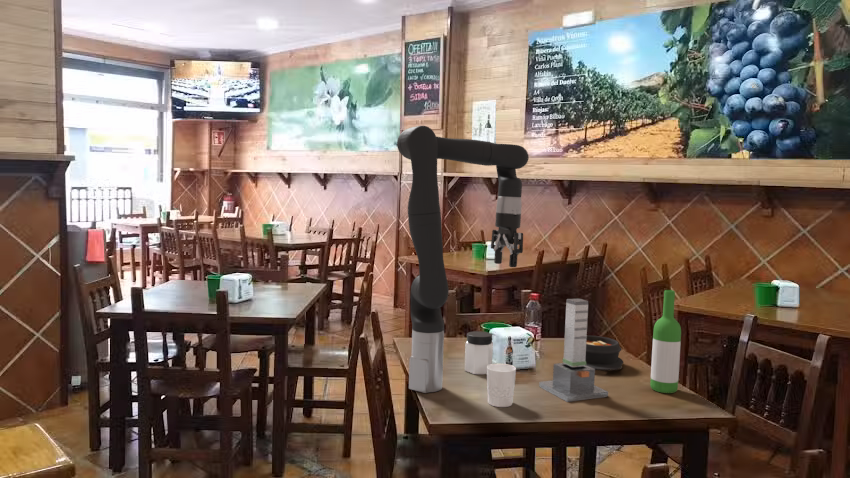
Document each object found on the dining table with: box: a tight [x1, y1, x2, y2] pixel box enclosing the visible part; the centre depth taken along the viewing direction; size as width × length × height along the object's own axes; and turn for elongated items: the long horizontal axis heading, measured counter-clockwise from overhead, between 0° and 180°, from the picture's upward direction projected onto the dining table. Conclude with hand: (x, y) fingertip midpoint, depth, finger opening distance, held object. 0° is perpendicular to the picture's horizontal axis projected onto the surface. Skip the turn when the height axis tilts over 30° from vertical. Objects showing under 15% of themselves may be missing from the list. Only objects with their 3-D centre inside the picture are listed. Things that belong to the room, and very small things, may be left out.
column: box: [562, 298, 589, 367], centre depth 184 cm, size 5×5×19 cm
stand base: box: [538, 362, 609, 403], centre depth 185 cm, size 14×14×8 cm
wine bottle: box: [649, 289, 682, 394], centre depth 188 cm, size 8×8×30 cm
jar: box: [464, 330, 494, 375], centre depth 203 cm, size 9×8×12 cm
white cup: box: [486, 363, 517, 408], centre depth 173 cm, size 8×8×10 cm
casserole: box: [585, 335, 624, 371], centre depth 214 cm, size 25×19×8 cm
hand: (505, 265), depth 193 cm, fingers open, 8 cm apart
